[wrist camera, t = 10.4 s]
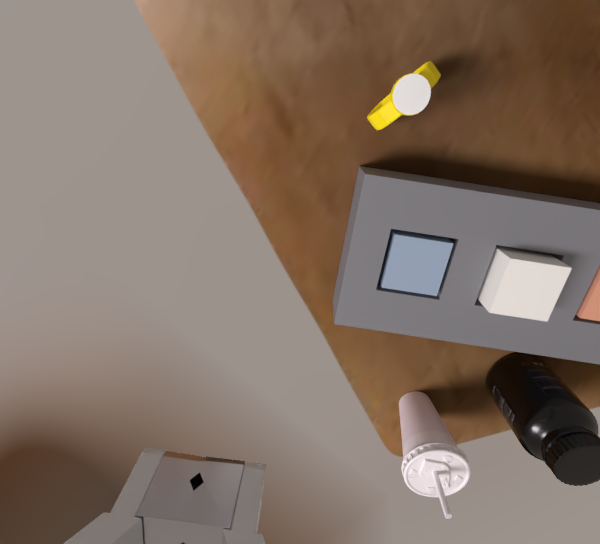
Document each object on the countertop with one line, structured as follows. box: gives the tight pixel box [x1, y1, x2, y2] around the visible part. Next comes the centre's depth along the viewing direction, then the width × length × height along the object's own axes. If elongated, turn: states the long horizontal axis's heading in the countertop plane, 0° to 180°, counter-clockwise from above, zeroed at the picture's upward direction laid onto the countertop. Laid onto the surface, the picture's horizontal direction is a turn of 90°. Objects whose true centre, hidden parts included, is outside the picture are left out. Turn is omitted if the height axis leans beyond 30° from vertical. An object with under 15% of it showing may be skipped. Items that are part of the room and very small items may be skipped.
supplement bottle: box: [486, 353, 600, 486], centre depth 37 cm, size 7×7×12 cm
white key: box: [477, 245, 572, 322], centre depth 33 cm, size 5×5×4 cm
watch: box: [367, 61, 441, 130], centre depth 30 cm, size 6×3×6 cm, turn 132°
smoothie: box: [399, 391, 471, 519], centre depth 39 cm, size 6×6×14 cm
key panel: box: [333, 166, 600, 365], centre depth 35 cm, size 30×14×5 cm, turn 82°
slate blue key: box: [379, 229, 454, 296], centre depth 35 cm, size 5×5×4 cm
